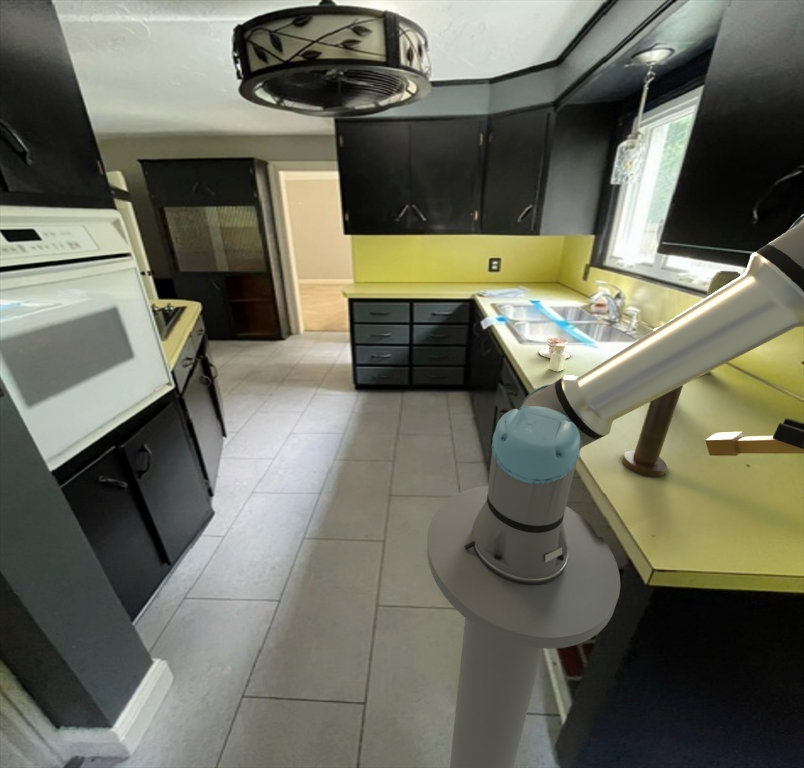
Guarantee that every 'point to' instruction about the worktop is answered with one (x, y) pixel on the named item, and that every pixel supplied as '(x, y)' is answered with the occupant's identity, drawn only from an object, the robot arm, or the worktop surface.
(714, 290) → the greenish-grey tall rounded piece
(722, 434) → the wooden t-shaped block
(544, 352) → the teacup
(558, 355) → the pepper shaker
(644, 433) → the dark brown spool
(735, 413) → the worktop surface
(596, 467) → the worktop surface
